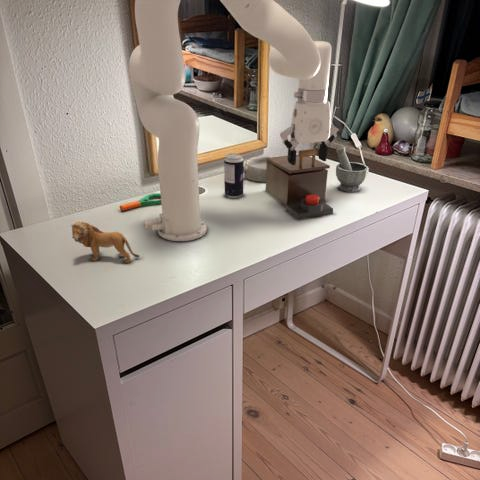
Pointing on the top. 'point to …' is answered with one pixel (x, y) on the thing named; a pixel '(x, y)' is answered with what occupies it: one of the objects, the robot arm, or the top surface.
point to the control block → (309, 209)
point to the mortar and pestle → (350, 172)
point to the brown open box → (294, 184)
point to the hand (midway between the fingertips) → (307, 161)
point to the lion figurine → (100, 239)
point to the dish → (256, 168)
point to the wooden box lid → (299, 162)
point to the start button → (312, 199)
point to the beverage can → (233, 175)
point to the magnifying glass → (142, 202)
